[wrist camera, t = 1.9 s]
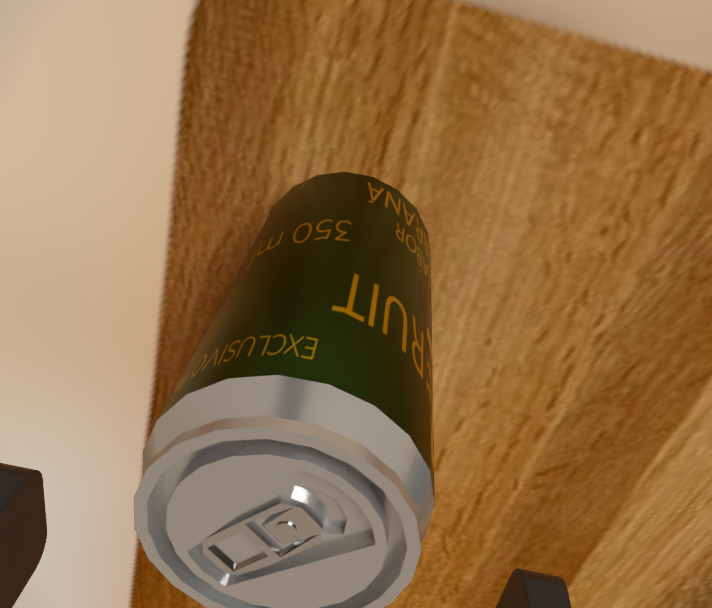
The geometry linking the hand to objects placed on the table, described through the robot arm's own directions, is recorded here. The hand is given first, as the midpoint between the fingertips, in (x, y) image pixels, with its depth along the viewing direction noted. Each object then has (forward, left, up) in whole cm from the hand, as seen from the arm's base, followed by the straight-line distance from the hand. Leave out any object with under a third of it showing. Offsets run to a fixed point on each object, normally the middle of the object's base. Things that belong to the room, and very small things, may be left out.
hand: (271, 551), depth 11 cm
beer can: (0, 0, -12) cm, 12 cm away
